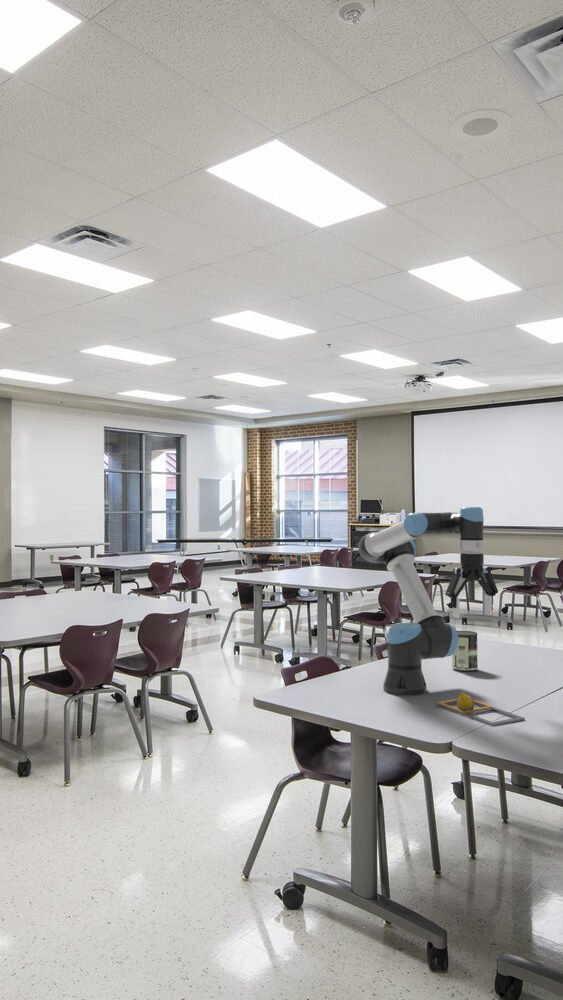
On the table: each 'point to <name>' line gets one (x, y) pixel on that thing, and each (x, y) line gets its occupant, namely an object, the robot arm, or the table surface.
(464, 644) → the coffee can
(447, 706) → the orange gray double frame
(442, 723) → the table surface
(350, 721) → the table surface
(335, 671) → the table surface
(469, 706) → the yellow cone
